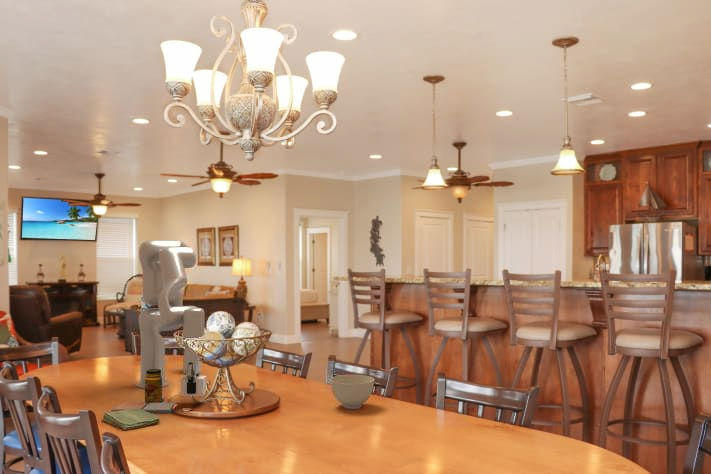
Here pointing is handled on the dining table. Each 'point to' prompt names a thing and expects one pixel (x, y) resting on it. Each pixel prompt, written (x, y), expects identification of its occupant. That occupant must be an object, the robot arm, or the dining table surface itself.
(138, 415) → the washcloth
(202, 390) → the white block
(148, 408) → the board
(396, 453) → the dining table surface
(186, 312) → the robot arm
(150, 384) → the condiment
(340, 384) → the bowl
